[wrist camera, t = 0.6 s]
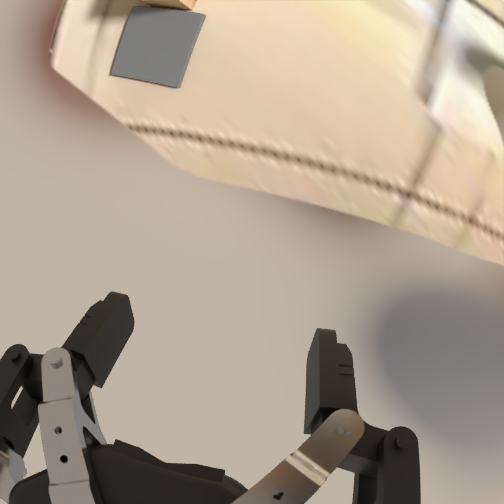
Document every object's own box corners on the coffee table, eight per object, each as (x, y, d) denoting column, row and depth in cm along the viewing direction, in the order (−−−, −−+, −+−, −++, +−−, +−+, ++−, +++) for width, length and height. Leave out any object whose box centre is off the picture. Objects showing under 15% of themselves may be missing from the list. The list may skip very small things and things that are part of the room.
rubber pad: (136, 7, 25) (133, 6, 25) (205, 16, 26) (203, 14, 25) (114, 74, 31) (110, 74, 30) (180, 87, 31) (177, 87, 30)
